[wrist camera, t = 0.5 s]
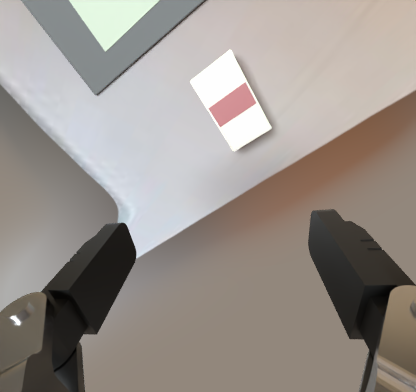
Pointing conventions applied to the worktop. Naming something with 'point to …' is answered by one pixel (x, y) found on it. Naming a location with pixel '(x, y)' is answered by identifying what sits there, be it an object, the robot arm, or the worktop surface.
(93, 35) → the mat
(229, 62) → the card deck
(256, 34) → the worktop surface
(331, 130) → the worktop surface
